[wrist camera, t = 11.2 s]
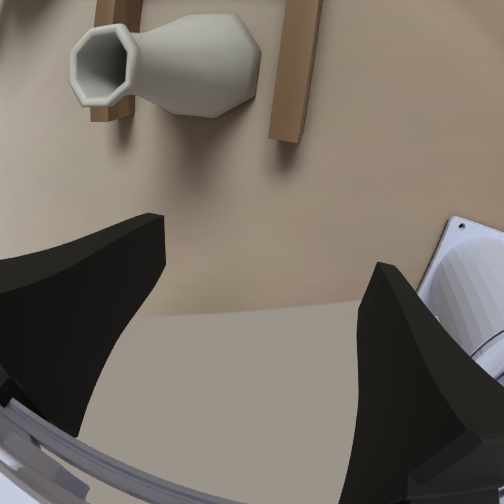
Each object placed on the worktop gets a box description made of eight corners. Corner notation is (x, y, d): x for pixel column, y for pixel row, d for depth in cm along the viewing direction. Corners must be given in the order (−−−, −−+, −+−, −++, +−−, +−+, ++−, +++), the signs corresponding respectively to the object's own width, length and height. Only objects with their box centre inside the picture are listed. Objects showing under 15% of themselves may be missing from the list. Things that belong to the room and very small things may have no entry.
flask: (249, -2, 14) (169, -61, 6) (273, 107, 17) (214, 138, 9) (144, 32, 16) (25, 29, 8) (167, 129, 19) (60, 179, 11)
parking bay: (329, -59, 11) (327, -79, 8) (302, 133, 18) (297, 143, 15) (133, -50, 12) (108, -59, 10) (117, 113, 19) (90, 121, 17)
